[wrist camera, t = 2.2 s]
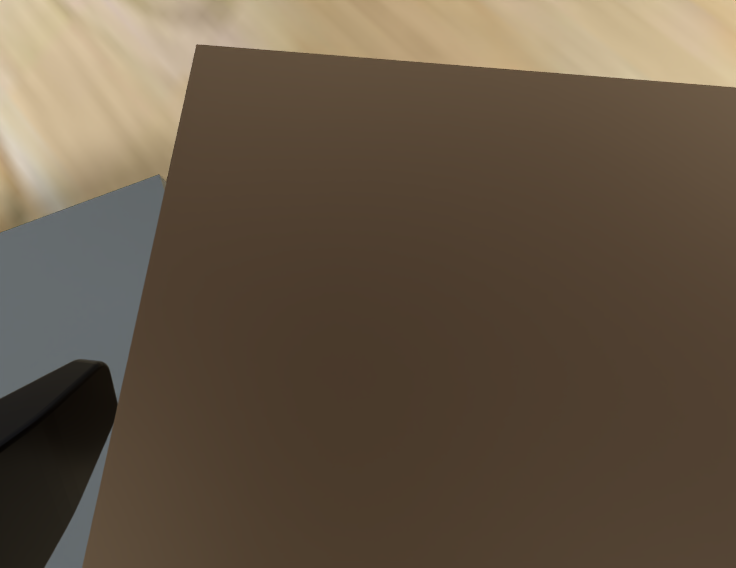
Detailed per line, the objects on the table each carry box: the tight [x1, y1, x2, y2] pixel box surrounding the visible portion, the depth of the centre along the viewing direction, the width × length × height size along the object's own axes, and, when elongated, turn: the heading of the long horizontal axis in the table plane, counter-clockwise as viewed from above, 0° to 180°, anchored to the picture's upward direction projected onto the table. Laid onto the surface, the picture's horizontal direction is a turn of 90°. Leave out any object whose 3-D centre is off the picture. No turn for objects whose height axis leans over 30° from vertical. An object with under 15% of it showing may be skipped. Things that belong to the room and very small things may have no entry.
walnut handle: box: [82, 45, 736, 568], centre depth 10 cm, size 4×4×13 cm
